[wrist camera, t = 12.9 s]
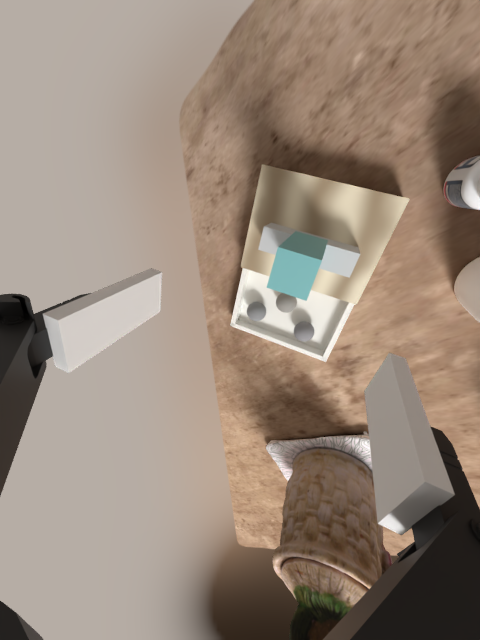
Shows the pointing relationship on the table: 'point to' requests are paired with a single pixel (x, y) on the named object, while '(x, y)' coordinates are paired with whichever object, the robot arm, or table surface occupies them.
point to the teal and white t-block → (303, 258)
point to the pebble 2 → (304, 331)
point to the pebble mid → (286, 303)
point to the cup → (469, 288)
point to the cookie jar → (327, 529)
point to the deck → (323, 223)
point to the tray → (290, 316)
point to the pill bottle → (464, 184)
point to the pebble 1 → (256, 311)
